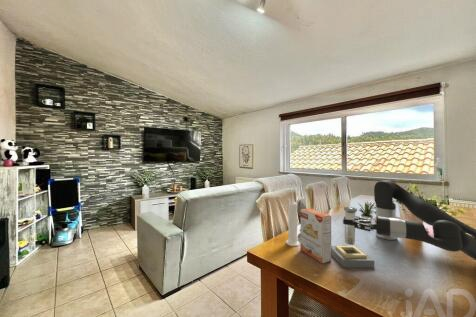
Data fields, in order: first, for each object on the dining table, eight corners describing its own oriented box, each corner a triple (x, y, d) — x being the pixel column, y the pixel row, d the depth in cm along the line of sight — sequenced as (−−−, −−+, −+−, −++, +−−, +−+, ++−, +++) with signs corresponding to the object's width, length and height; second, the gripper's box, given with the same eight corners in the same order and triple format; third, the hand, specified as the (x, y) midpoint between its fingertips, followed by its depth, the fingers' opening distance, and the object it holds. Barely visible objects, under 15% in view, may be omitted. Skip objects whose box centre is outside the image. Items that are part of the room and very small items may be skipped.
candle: (292, 247, 100) (292, 199, 100) (283, 242, 107) (283, 196, 107) (302, 244, 104) (302, 198, 104) (293, 239, 110) (293, 195, 110)
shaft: (351, 240, 91) (352, 206, 91) (358, 245, 86) (359, 209, 86) (340, 240, 91) (341, 206, 91) (347, 245, 86) (347, 209, 86)
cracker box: (299, 250, 97) (299, 208, 97) (308, 248, 100) (309, 207, 100) (321, 264, 84) (321, 216, 84) (331, 261, 87) (332, 215, 87)
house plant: (386, 228, 128) (386, 203, 128) (365, 228, 128) (365, 203, 128) (371, 221, 142) (372, 199, 142) (352, 221, 142) (353, 199, 142)
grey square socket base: (356, 252, 95) (356, 244, 95) (374, 267, 82) (374, 257, 82) (329, 252, 95) (329, 243, 95) (343, 267, 82) (343, 257, 82)
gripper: (392, 242, 75) (342, 233, 84) (388, 230, 87) (344, 223, 96) (392, 222, 75) (342, 215, 84) (388, 213, 87) (344, 208, 96)
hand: (343, 220), depth 90 cm, fingers closed on shaft, 4 cm apart
